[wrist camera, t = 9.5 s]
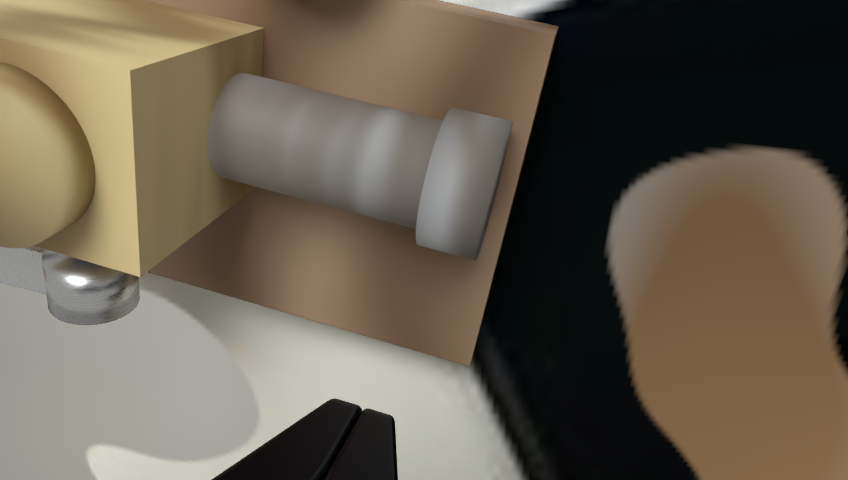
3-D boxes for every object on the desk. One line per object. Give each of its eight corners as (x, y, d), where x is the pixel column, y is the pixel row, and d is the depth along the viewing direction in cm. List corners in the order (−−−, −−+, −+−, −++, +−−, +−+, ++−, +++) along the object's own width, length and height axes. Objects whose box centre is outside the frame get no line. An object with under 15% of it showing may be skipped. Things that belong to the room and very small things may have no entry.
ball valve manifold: (558, 26, 18) (529, 100, 10) (477, 341, 23) (419, 540, 16) (49, -84, 20) (-274, -87, 13) (80, 227, 25) (-137, 354, 18)
